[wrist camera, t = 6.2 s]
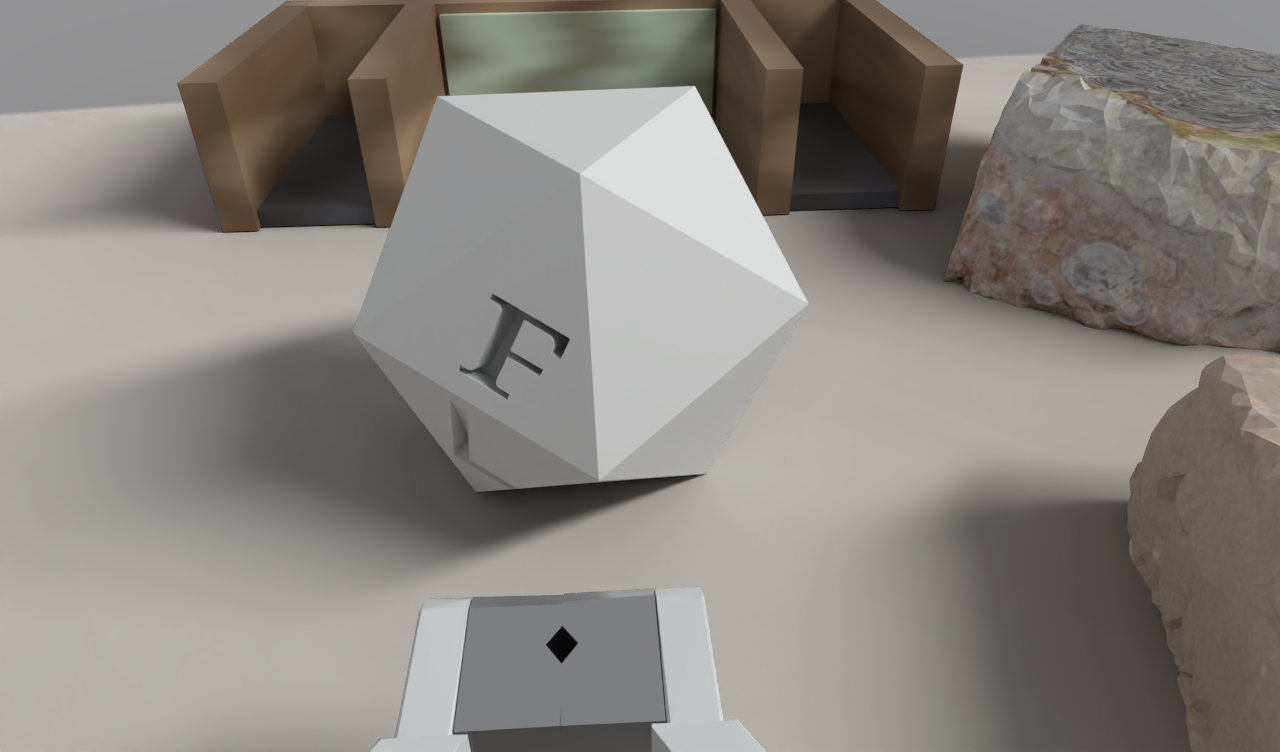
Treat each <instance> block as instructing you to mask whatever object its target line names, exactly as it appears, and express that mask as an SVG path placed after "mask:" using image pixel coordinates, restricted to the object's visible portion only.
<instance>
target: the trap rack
mask: <svg viewBox="0 0 1280 752" xmlns="http://www.w3.org/2000/svg"><path fill="white" fill-rule="evenodd" d="M962 68H963V64H961V63H960V62H959V61H957V60H956V59H955V58H953V57H952V56H950V55H949V54H948V53H946V52H945V51H943V50H942V49H941V48H940V47H938V46H937V45H936V44H934V43H933V42H932V41H930V40H929V39H928V38H926V37H925V36H924V35H922V34H921V33H919V32H918V31H917V30H915V29H914V28H913V27H911V26H910V25H909V24H907V23H906V22H905V21H903V20H902V19H901V18H899V17H898V16H897V15H895V14H894V13H892V12H891V11H890V10H888V9H887V8H886V7H884V6H883V5H882V4H880V3H879V2H878V1H876V0H305V1H304V0H303V1H286V2H284V3H283V4H282V5H280V6H279V7H278V8H276V9H275V10H274V11H273V12H271V13H270V14H269V15H267V16H266V17H265V18H263V19H262V20H261V21H259V22H258V23H257V24H255V25H254V26H253V27H251V28H250V29H249V30H248V31H246V32H245V33H243V34H242V35H241V36H239V37H238V38H237V39H236V40H234V41H233V42H232V43H230V44H229V45H228V46H226V47H225V48H224V49H223V50H221V51H220V52H218V53H217V54H216V55H214V56H213V57H212V58H210V59H209V60H208V61H206V62H205V63H204V64H203V65H201V66H200V67H199V68H197V69H196V70H195V71H193V72H192V73H191V74H189V75H188V76H187V77H185V78H184V79H183V80H181V81H180V82H179V83H178V87H179V91H180V94H181V97H182V100H183V104H184V107H185V110H186V114H187V117H188V120H189V123H190V127H191V130H192V133H193V136H194V140H195V143H196V146H197V149H198V153H199V156H200V159H201V162H202V166H203V169H204V172H205V175H206V179H207V182H208V185H209V188H210V192H211V195H212V198H213V201H214V205H215V208H216V211H217V214H218V218H219V221H220V224H221V227H222V231H223V232H230V231H259V229H260V228H261V227H273V226H305V225H337V224H370V223H376V227H389V226H391V224H392V222H393V219H394V216H395V213H396V210H397V208H398V205H399V202H400V199H401V196H402V194H403V191H404V188H405V185H406V182H407V180H408V177H409V174H410V171H411V168H412V166H413V163H414V160H415V157H416V155H417V152H418V149H419V146H420V143H421V141H422V138H423V135H424V132H425V129H426V127H427V124H428V121H429V118H430V115H431V113H432V110H433V107H434V104H435V101H436V99H437V96H459V95H484V94H508V93H533V92H558V91H583V90H608V89H633V88H658V87H683V86H695V87H696V89H697V91H698V93H699V95H700V97H701V99H702V101H703V102H704V104H705V106H706V108H707V110H708V112H709V114H710V115H715V117H716V119H717V122H718V124H719V126H720V129H721V131H722V134H723V136H724V139H725V141H726V144H727V146H728V149H729V151H730V153H731V156H732V158H733V160H734V162H735V164H736V166H737V168H738V170H739V171H740V173H741V175H742V177H743V179H744V181H745V183H746V185H747V187H748V189H749V191H750V193H751V194H752V196H753V198H754V200H755V202H756V204H757V206H758V208H759V210H760V212H761V214H762V215H771V214H789V212H790V210H818V209H850V208H882V207H899V208H900V210H930V209H934V208H935V203H936V198H937V193H938V188H939V183H940V178H941V173H942V168H943V163H944V158H945V153H946V148H947V143H948V138H949V133H950V128H951V123H952V118H953V113H954V108H955V103H956V98H957V93H958V88H959V83H960V78H961V73H962Z"/></svg>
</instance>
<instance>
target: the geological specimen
mask: <svg viewBox="0 0 1280 752" xmlns="http://www.w3.org/2000/svg"><path fill="white" fill-rule="evenodd" d="M944 281H955V282H957V283H961V284H964V285H966V286H968V288H969V290H970V292H971V293H976V294H979V295H981V296H983V297H986V298H991V299H996V300H1002V301H1004V302H1007V303H1010V304H1012V305H1015V306H1018V307H1033V308H1036V309H1040V310H1044V311H1050V312H1055V313H1060V314H1064V315H1068V316H1070V317H1071V318H1073V319H1075V320H1076V321H1078V322H1080V323H1081V324H1083V325H1084V326H1087V327H1093V328H1098V329H1108V328H1121V329H1127V330H1131V331H1134V332H1136V333H1139V334H1142V335H1145V336H1148V337H1151V338H1154V339H1157V340H1160V341H1165V342H1170V343H1175V344H1180V345H1198V344H1206V345H1213V346H1222V347H1231V348H1245V349H1256V350H1268V351H1280V55H1279V54H1271V53H1265V52H1259V51H1253V50H1247V49H1242V48H1230V47H1226V46H1219V45H1214V44H1210V43H1205V42H1200V41H1193V40H1187V39H1178V38H1170V37H1162V36H1155V35H1150V34H1144V33H1138V32H1132V31H1125V30H1118V29H1109V28H1102V27H1098V26H1092V25H1084V24H1078V25H1076V26H1075V27H1074V28H1073V29H1072V30H1071V31H1070V32H1069V33H1068V34H1067V35H1066V36H1065V37H1064V38H1063V39H1062V40H1061V41H1060V42H1059V43H1058V44H1057V45H1056V46H1055V47H1054V48H1053V49H1052V50H1051V51H1050V52H1049V53H1048V54H1046V55H1045V56H1044V57H1043V58H1042V61H1041V64H1040V65H1039V64H1038V65H1037V64H1036V65H1035V66H1033V67H1032V69H1031V72H1023V73H1022V75H1021V77H1020V79H1019V81H1018V83H1017V85H1016V87H1015V89H1014V91H1013V93H1012V95H1011V97H1010V98H1009V100H1008V102H1007V104H1006V105H1005V107H1004V109H1003V112H1002V114H1001V117H1000V120H999V122H998V124H997V126H996V127H995V130H994V133H993V136H992V140H991V143H990V146H989V148H988V149H987V151H986V152H985V154H984V155H983V157H982V160H981V162H980V165H979V168H978V171H977V176H976V182H975V186H974V189H973V192H972V195H971V198H970V201H969V204H968V206H967V209H966V212H965V215H964V217H963V220H962V222H961V225H960V228H959V235H958V238H957V241H956V243H955V246H954V249H953V251H952V254H951V256H950V259H949V263H948V266H947V270H946V274H945V277H944Z"/></svg>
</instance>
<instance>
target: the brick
mask: <svg viewBox="0 0 1280 752" xmlns="http://www.w3.org/2000/svg"><path fill="white" fill-rule="evenodd" d="M1130 490H1131V496H1130V499H1129V501H1128V504H1127V531H1128V533H1129V534H1130V537H1131V539H1130V542H1129V552H1130V557H1131V561H1132V564H1133V566H1135V567H1136V568H1137V571H1138V572H1139V573H1140V575H1141V576H1142V577H1143V579H1144V584H1145V585H1146V586H1147V587H1148V588H1149V589H1150V590H1151V593H1152V603H1153V604H1154V605H1155V606H1156V607H1157V608H1158V609H1159V611H1160V612H1161V614H1162V623H1163V625H1164V628H1165V631H1166V638H1167V646H1168V648H1169V650H1170V651H1171V652H1172V653H1173V654H1174V656H1175V657H1174V661H1175V664H1176V665H1177V667H1178V668H1179V669H1178V670H1177V671H1178V672H1179V676H1178V678H1177V683H1178V686H1179V690H1180V693H1181V696H1182V698H1183V700H1184V703H1185V705H1186V708H1187V709H1186V727H1187V733H1188V738H1189V742H1190V747H1191V751H1192V752H1280V360H1278V359H1274V358H1271V357H1267V356H1260V355H1254V354H1240V355H1226V356H1222V357H1220V358H1219V359H1217V360H1215V361H1213V362H1211V363H1210V364H1208V365H1207V366H1206V367H1205V368H1204V369H1203V370H1202V372H1201V377H1200V381H1199V386H1198V388H1196V389H1195V390H1193V391H1192V392H1190V393H1188V394H1187V395H1186V396H1184V397H1183V398H1182V399H1180V400H1179V401H1178V402H1176V403H1175V404H1174V405H1172V406H1171V407H1170V408H1169V409H1168V410H1167V412H1166V413H1165V415H1164V416H1163V417H1162V419H1161V420H1160V422H1159V423H1158V425H1157V426H1156V427H1155V429H1154V430H1153V432H1152V433H1151V436H1150V439H1149V442H1148V444H1147V447H1146V450H1145V453H1144V456H1143V459H1142V462H1140V463H1138V464H1137V466H1136V468H1135V470H1134V472H1133V474H1132V476H1131V478H1130Z"/></svg>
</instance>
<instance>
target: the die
mask: <svg viewBox="0 0 1280 752" xmlns="http://www.w3.org/2000/svg"><path fill="white" fill-rule="evenodd" d="M807 305H808V302H807V300H806V298H805V296H804V294H803V292H802V290H801V288H800V287H799V285H798V283H797V281H796V279H795V277H794V275H793V273H792V271H791V269H790V267H789V265H788V264H787V262H786V260H785V258H784V256H783V254H782V252H781V250H780V248H779V246H778V244H777V242H776V241H775V239H774V237H773V235H772V233H771V231H770V229H769V227H768V225H767V223H766V221H765V219H764V217H763V216H762V214H761V212H760V210H759V208H758V206H757V204H756V202H755V200H754V198H753V196H752V194H751V193H750V191H749V189H748V187H747V185H746V183H745V181H744V179H743V177H742V175H741V173H740V171H739V170H738V168H737V166H736V164H735V162H734V160H733V158H732V156H731V154H730V152H729V150H728V148H727V147H726V145H725V143H724V141H723V139H722V137H721V135H720V133H719V131H718V129H717V127H716V125H715V124H714V122H713V120H712V118H711V116H710V114H709V112H708V110H707V108H706V106H705V104H704V102H703V101H702V99H701V97H700V95H699V93H698V91H697V89H696V87H695V86H683V87H658V88H633V89H608V90H583V91H558V92H533V93H508V94H484V95H459V96H437V99H436V101H435V104H434V107H433V110H432V113H431V115H430V118H429V121H428V124H427V127H426V129H425V132H424V135H423V138H422V141H421V143H420V146H419V149H418V152H417V155H416V157H415V160H414V163H413V166H412V168H411V171H410V174H409V177H408V180H407V182H406V185H405V188H404V191H403V194H402V196H401V199H400V202H399V205H398V208H397V210H396V213H395V216H394V219H393V222H392V224H391V227H390V230H389V233H388V235H387V238H386V241H385V244H384V247H383V249H382V252H381V255H380V258H379V261H378V263H377V266H376V269H375V272H374V275H373V277H372V280H371V283H370V286H369V289H368V291H367V294H366V297H365V300H364V302H363V305H362V308H361V311H360V314H359V316H358V319H357V322H356V325H355V328H354V330H353V334H354V335H355V336H356V338H357V339H358V340H359V341H360V343H361V344H362V345H363V347H364V348H365V349H366V350H367V352H368V353H369V354H370V356H371V357H372V358H373V360H374V361H375V362H376V363H377V365H378V366H379V367H380V369H381V370H382V371H383V372H384V374H385V375H386V376H387V378H388V379H389V380H390V382H391V383H392V384H393V385H394V387H395V388H396V389H397V391H398V392H399V393H400V394H401V396H402V397H403V398H404V400H405V401H406V402H407V404H408V405H409V406H410V407H411V409H412V410H413V411H414V413H415V414H416V415H417V416H418V418H419V419H420V420H421V422H422V423H423V424H424V426H425V427H426V428H427V429H428V431H429V432H430V433H431V435H432V436H433V437H434V438H435V440H436V441H437V442H438V444H439V445H440V446H441V448H442V449H443V450H444V451H445V453H446V454H447V455H448V457H449V458H450V459H451V460H452V462H453V463H454V464H455V466H456V467H457V468H458V470H459V471H460V472H461V473H462V475H463V476H464V477H465V479H466V480H467V481H468V482H469V484H470V485H471V486H472V488H473V489H474V490H475V492H484V491H497V490H509V489H522V488H534V487H547V486H559V485H572V484H584V483H597V482H609V481H622V480H634V479H647V478H659V477H671V476H684V475H696V474H707V472H708V470H709V469H710V467H711V465H712V464H713V462H714V460H715V459H716V457H717V455H718V454H719V452H720V450H721V449H722V447H723V445H724V444H725V442H726V440H727V439H728V437H729V435H730V434H731V432H732V430H733V429H734V427H735V425H736V424H737V422H738V420H739V419H740V417H741V415H742V414H743V412H744V410H745V409H746V407H747V405H748V404H749V402H750V400H751V399H752V397H753V395H754V394H755V392H756V390H757V389H758V387H759V385H760V384H761V382H762V380H763V379H764V377H765V375H766V374H767V372H768V370H769V369H770V367H771V365H772V364H773V362H774V360H775V359H776V357H777V355H778V354H779V352H780V350H781V349H782V347H783V345H784V344H785V342H786V340H787V339H788V337H789V335H790V334H791V332H792V330H793V329H794V327H795V325H796V324H797V322H798V320H799V319H800V317H801V315H802V314H803V312H804V310H805V309H806V307H807Z"/></svg>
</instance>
